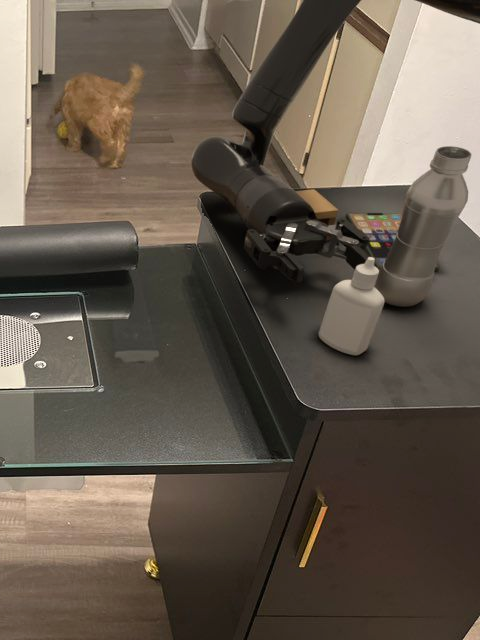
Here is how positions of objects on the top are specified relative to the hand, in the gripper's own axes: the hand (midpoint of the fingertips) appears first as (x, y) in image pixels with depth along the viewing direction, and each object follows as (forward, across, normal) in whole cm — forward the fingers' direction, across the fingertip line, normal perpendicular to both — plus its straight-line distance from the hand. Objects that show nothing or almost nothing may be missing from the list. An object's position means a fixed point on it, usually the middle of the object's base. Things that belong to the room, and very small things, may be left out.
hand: (333, 272), depth 89 cm
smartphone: (-15, +19, +7) cm, 25 cm away
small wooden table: (-22, +8, +7) cm, 24 cm away
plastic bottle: (-2, +12, +7) cm, 14 cm away
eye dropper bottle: (+5, 0, +7) cm, 9 cm away
